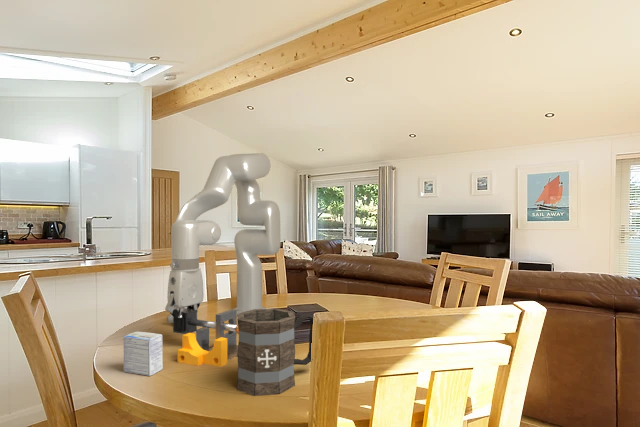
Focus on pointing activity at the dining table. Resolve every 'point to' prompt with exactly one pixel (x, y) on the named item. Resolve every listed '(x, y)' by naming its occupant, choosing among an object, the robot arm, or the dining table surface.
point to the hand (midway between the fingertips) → (185, 328)
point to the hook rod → (200, 323)
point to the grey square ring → (220, 333)
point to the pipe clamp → (202, 352)
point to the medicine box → (143, 353)
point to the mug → (268, 350)
